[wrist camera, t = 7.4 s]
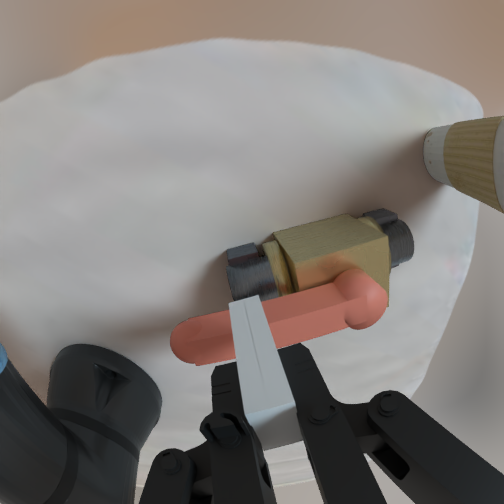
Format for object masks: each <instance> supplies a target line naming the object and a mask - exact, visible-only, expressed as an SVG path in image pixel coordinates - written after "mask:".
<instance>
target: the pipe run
mask: <svg viewBox="0 0 504 504" xmlns="http://www.w3.org/2000/svg"><path fill="white" fill-rule="evenodd" d="M273 235H274V241H270V242H267V243H263V244H262V247H263V253H264V256H262V257H259V255H258V251H257V249H256V246H255V244H254V242H253V243H249V244H246V245H242V246H238V247H235V248H231V249H227V256H228V262H229V266H226V270H227V275H228V280H229V284H230V288H231V292H232V295H233V299H234V301H238V300H242V299H245V298H249V297H253V296H256V295H259V298H260V301H261V302H262V301H266V300H270V299H274V298H278V297H282V296H286V295H289V294H293V293H297V292H301V291H304V290H308V289H312V288H315V287H319V286H322V285H326V284H329V283H333V282H334V280H335V279H336V278H337V277H338V276H339V275H340V274H341V273H343V272H345V271H347V270H350V269H360V270H362V271H364V272H365V273H366V274H368V275H369V276H370V277H371V278H372V279H373V280H374V281H375V282H377V283H378V284H379V285H380V286H381V287H382V288H383V289H384V290H385V291H386V293H387V296H388V303H387V307H389V274H390V271H391V268H393V267H396V266H399V264H400V263H403V262H406V261H408V260H410V259H411V258H412V256H413V253H414V241H413V236H412V234H411V231H410V229H409V227H408V226H407V225H406V223H405V222H403V221H402V220H400V219H398V217H397V214H396V213H394V212H391V211H389V210H386V209H384V208H383V209H379V210H375V211H371V212H367V213H363V217H361V218H357V219H355V218H353V217H352V216H350V215H348V214H343V215H339V216H335V217H331V218H327V219H323V220H319V221H316V222H312V223H308V224H304V225H300V226H296V227H292V228H289V229H285V230H281V231H277V232H273Z"/></svg>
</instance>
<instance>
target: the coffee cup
mask: <svg viewBox="0 0 504 504" xmlns="http://www.w3.org/2000/svg"><path fill="white" fill-rule="evenodd" d="M423 157H424V162H425V165H426V168H427V170H428V172H429V174H430V175H431V176H432V177H433V178H434V179H435V180H437V181H439V182H441V183H444V184H446V185H449V186H451V187H453V188H455V189H456V190H458V191H460V192H462V193H464V194H466V195H468V196H470V197H472V198H475V199H477V200H479V201H481V202H483V203H485V204H487V205H489V206H491V207H492V208H494V209H496V210H498V211H500V212H502V213H504V116H498V117H490V118H482V119H475V120H468V121H462V122H457V123H454V124H453V125H447V126H441V127H436V128H433V129H431V130H430V131H429V132H428V134H427V136H426V138H425V141H424V146H423Z"/></svg>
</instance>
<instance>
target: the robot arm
mask: <svg viewBox="0 0 504 504" xmlns="http://www.w3.org/2000/svg"><path fill="white" fill-rule="evenodd" d="M229 311H230V318H231V326H232V333H233V341H234V348H235V355H236V362H232V363H228V364H224V365H219V366H216V367H215V369H214V371H213V373H212V375H211V386H212V407H213V412H212V413H211V414H209V415H208V416H206V417H205V418H204V420H203V421H202V423H201V425H200V432H201V433H202V434H203V435H204V437H205V438H206V439H207V441H206V442H204V443H203V444H201V445H199V446H197V447H195V448H193V449H190V450H188V451H185V452H183V451H182V450H179V449H176V448H173V449H166V450H164V451H161V452H160V453H159V454H158V455H156V457H155V459H154V460H153V463H152V466H151V468H150V471H149V474H148V477H147V480H146V483H145V486H144V489H143V492H142V495H141V498H140V502H139V504H277V502H276V498H275V494H274V490H273V485H272V481H271V477H270V473H269V468H268V464H267V462H266V460H265V458H264V454H263V450H264V451H265V450H269V449H273V448H277V447H281V446H285V445H289V444H292V443H296V442H299V441H302V440H303V441H304V444H305V447H306V451H307V455H308V459H309V461H310V464H311V466H312V469H313V472H314V475H315V478H316V481H317V484H318V487H319V490H320V493H321V496H322V499H323V502H324V504H387V503H386V500H385V498H384V496H383V494H382V492H381V490H380V488H379V485H378V483H377V481H376V479H375V477H374V475H373V473H372V471H371V469H370V467H369V465H368V462H367V460H366V458H365V456H364V454H363V453H367V455H368V456H369V457H370V458H371V459H372V460H373V461H374V462H375V463H376V464H377V465H378V466H379V467H380V468H381V469H382V470H383V472H384V473H385V474H386V475H387V476H388V477H389V478H390V479H391V480H392V481H393V482H394V483H395V484H396V485H397V486H398V487H399V488H400V489H401V490H402V491H403V492H404V493H405V494H406V495H407V496H408V497H409V498H410V499H411V500H412V501H413V502H414V503H415V504H504V475H503V474H502V473H501V472H499V471H498V470H497V469H496V468H494V467H493V466H491V465H490V464H489V463H488V462H487V461H485V460H484V459H483V458H482V457H480V456H479V455H478V454H477V453H475V452H474V451H473V450H471V449H470V448H469V447H468V446H466V445H465V444H464V443H462V442H461V441H460V440H459V439H457V438H456V437H455V436H454V435H453V434H451V433H450V432H449V431H448V430H446V429H445V428H444V427H443V426H442V425H440V424H439V423H438V422H437V421H435V420H434V419H433V418H432V417H430V416H429V415H428V414H427V413H425V412H424V411H423V410H422V409H421V408H419V407H418V406H417V405H416V404H414V403H413V402H412V401H411V400H410V399H408V398H407V397H406V396H405V395H403V394H402V393H400V392H398V391H392V390H389V391H383V392H381V393H379V394H377V395H375V396H374V397H373V398H372V399H371V400H370V402H367V403H360V404H344V403H341V402H339V401H337V400H336V399H334V398H333V397H332V395H331V394H330V392H329V390H328V388H327V386H326V384H325V382H324V380H323V377H322V375H321V373H320V371H319V369H318V367H317V365H316V363H315V361H314V360H313V357H312V355H311V353H310V351H309V349H308V348H307V347H305V346H304V345H302V344H301V343H297V344H294V345H291V346H288V347H284V348H281V349H278V350H277V348H276V345H275V343H274V340H273V337H272V334H271V331H270V328H269V325H268V322H267V319H266V316H265V313H264V310H263V307H262V304H261V301H260V298H259V295H256V296H253V297H249V298H245V299H242V300H238V301H234V302H231V303H229ZM161 406H162V397H161V393H160V391H159V389H158V387H157V385H156V384H155V382H154V381H153V380H152V378H151V377H150V376H149V375H148V374H147V373H146V372H145V371H144V370H142V369H141V368H140V367H139V366H137V365H136V364H135V363H133V362H132V361H130V360H128V359H127V358H125V357H123V356H121V355H119V354H117V353H115V352H113V351H110V350H108V349H105V348H102V347H98V346H94V345H87V344H76V345H71V346H68V347H66V348H64V349H63V350H61V351H60V353H59V354H58V356H57V357H56V359H55V361H54V362H53V364H52V366H51V369H50V381H49V388H48V396H47V406H45V404H44V403H43V402H42V401H41V400H40V399H39V398H38V396H37V395H36V394H35V393H34V392H33V390H32V389H31V388H30V387H29V385H28V384H27V383H26V382H25V380H24V379H23V378H22V376H21V375H20V374H19V372H18V371H17V370H16V368H15V367H14V366H13V364H12V363H11V361H10V360H9V358H8V357H7V353H6V350H5V348H4V346H3V345H2V344H1V343H0V503H1V504H134V498H135V488H136V478H137V470H138V462H139V455H140V450H141V448H142V447H143V445H144V443H145V442H146V440H147V438H148V436H149V435H150V433H151V431H152V429H153V428H154V427H155V425H156V424H157V422H158V420H159V418H160V413H161ZM262 448H263V449H262Z"/></svg>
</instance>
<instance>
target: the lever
mask: <svg viewBox="0 0 504 504" xmlns="http://www.w3.org/2000/svg"><path fill="white" fill-rule="evenodd" d="M387 303H388V296H387V293H386V291H385V290H384V289H383V288H382V287H381V286H380V285H379V284H378V283H377V282H375V281H374V280H373V279H372V278H371V277H370V276H369V275H368V274H366V273H365V272H364V271H362V270H360V269H350V270H347V271H345V272H343V273H341V274H340V275H339V276H338V277H337V278H336V279H335V280H334V282H333V283H329V284H326V285H322V286H319V287H315V288H312V289H308V290H304V291H301V292H297V293H293V294H289V295H286V296H282V297H278V298H274V299H270V300H266V301H262V302H261V304H262V307H263V310H264V313H265V316H266V319H267V322H268V325H269V328H270V331H271V334H272V337H273V340H274V343H275V345H276V348H281V347H285V346H289V345H292V344H296V343H299V342H303V341H306V340H310V339H313V338H316V337H320V336H323V335H326V334H329V333H332V332H336V331H339V330H342V329H345V328H348V327H350V328H352V329H357V330H360V329H365V328H367V327H370V326H371V325H373V324H374V323H376V322H377V321H378V320H379V319H380V318H381V316H382V315H383V313H384V312H385V310H386V307H387ZM170 345H171V349H172V351H173V353H174V354H175V356H176V357H177V358H179V359H180V360H182V361H184V362H186V363H192V364H194V363H195V364H196V366H200V365H205V364H211V363H216V362H221V361H226V360H231V359H235V358H236V355H235V348H234V341H233V333H232V326H231V318H230V311H229V310H225V311H220V312H216V313H212V314H207V315H202V316H198V317H193V318H188V320H187V321H184V322H181V323H180V324H178V325H177V326H176V327H175V328H174V330H173V331H172V333H171V337H170Z"/></svg>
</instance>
